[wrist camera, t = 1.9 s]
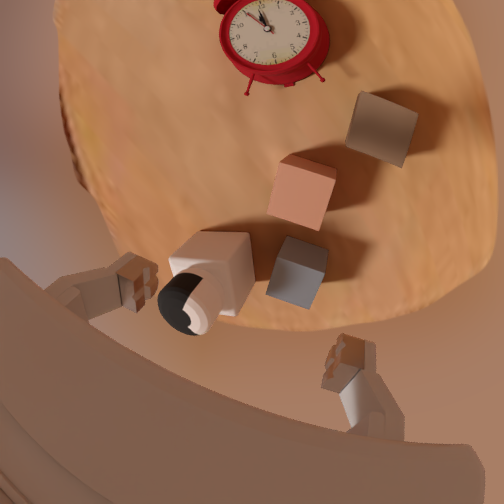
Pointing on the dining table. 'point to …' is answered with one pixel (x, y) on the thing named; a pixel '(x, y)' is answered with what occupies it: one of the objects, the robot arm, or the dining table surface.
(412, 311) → the dining table surface
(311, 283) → the slate-grey block
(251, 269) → the medicine bottle
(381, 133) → the walnut block
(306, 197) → the terracotta block
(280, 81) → the alarm clock
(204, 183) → the dining table surface
